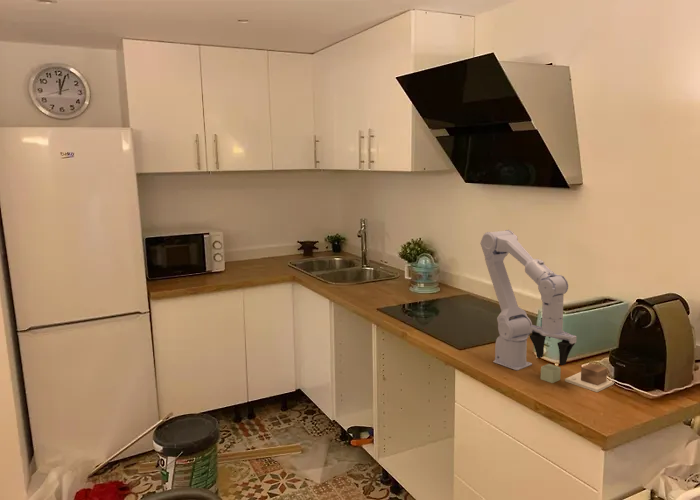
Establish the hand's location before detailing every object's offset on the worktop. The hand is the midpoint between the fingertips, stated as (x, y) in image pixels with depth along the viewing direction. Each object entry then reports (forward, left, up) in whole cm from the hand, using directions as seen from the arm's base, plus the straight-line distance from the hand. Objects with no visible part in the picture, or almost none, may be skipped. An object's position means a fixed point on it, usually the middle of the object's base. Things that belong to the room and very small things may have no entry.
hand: (551, 360), depth 158 cm
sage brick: (0, 0, -6) cm, 6 cm away
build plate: (+8, +7, -6) cm, 12 cm away
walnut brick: (+9, +7, -5) cm, 13 cm away
